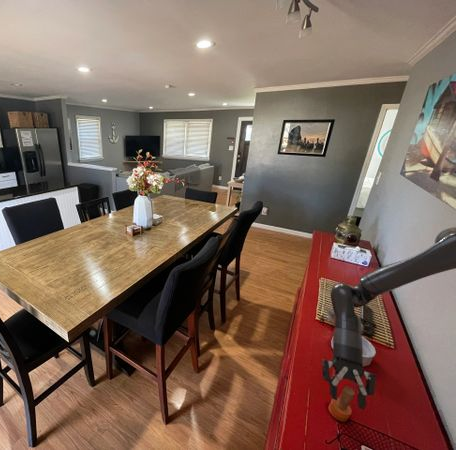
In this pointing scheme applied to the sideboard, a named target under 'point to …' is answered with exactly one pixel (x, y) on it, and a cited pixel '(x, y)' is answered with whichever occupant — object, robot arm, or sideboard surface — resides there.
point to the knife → (363, 319)
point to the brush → (342, 405)
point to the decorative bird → (332, 318)
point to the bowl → (365, 351)
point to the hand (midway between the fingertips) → (347, 403)
